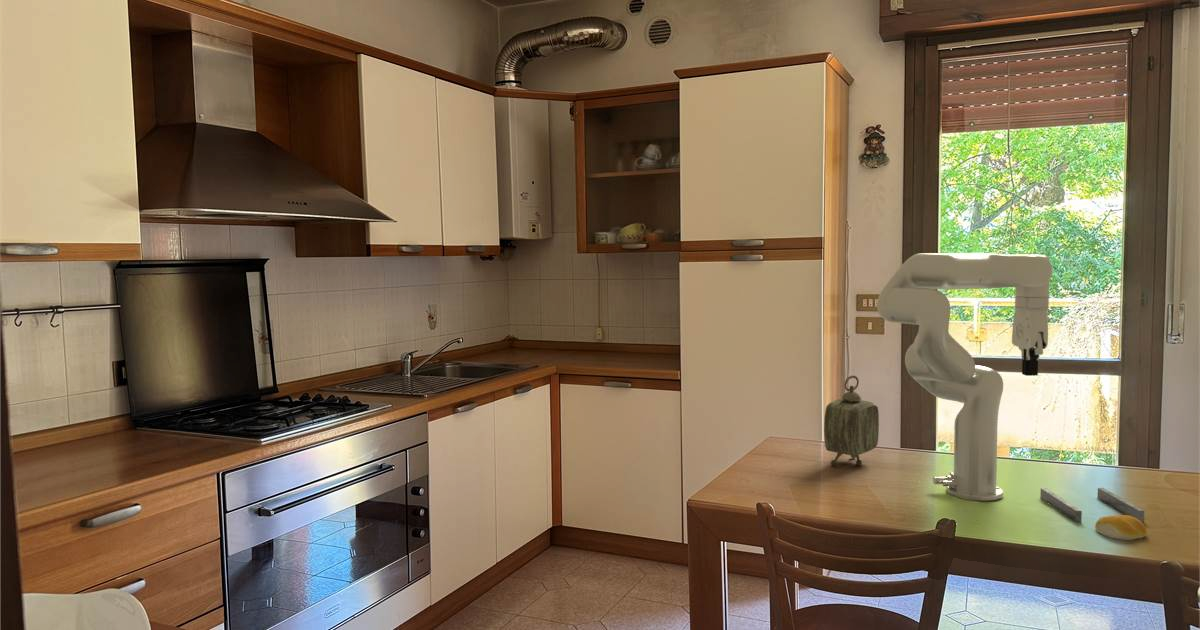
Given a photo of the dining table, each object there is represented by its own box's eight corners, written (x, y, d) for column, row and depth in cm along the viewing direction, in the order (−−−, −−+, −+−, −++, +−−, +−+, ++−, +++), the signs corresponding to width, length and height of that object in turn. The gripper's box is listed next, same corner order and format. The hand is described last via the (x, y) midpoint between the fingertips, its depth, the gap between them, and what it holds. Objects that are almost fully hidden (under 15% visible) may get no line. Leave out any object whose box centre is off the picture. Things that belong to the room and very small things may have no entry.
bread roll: (1154, 537, 167) (1155, 518, 166) (1124, 543, 164) (1125, 524, 163) (1116, 524, 175) (1117, 506, 174) (1086, 530, 171) (1087, 512, 171)
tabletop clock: (851, 456, 232) (851, 370, 230) (880, 461, 225) (881, 374, 223) (824, 466, 222) (824, 377, 220) (853, 473, 216) (854, 381, 213)
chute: (1075, 521, 176) (1076, 510, 176) (1040, 498, 192) (1040, 488, 191) (1143, 521, 175) (1144, 510, 175) (1102, 498, 191) (1103, 487, 191)
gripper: (1003, 301, 211) (1001, 370, 212) (1030, 306, 196) (1028, 380, 198) (1032, 301, 210) (1031, 370, 212) (1062, 305, 195) (1059, 380, 197)
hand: (1029, 374), depth 205 cm, fingers closed
